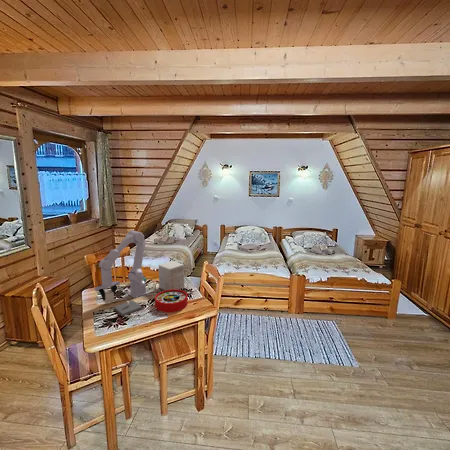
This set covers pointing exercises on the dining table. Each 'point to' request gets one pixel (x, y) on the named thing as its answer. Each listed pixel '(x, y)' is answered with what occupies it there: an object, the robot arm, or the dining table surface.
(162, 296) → the toy clock
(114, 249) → the robot arm
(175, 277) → the supplement box
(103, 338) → the dining table surface
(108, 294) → the block
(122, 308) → the stub plate
